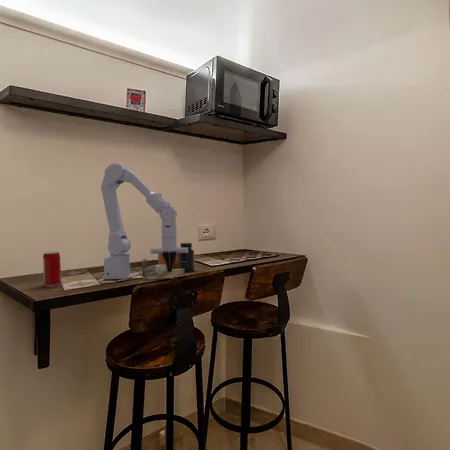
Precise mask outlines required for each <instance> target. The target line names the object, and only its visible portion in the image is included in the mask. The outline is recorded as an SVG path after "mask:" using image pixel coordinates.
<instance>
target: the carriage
mask: <svg viewBox="0 0 450 450" xmlns="http://www.w3.org/2000/svg"><path fill="white" fill-rule="evenodd" d="M154 270H155V272H166V264H165V265H158V264H155V266H154Z"/></svg>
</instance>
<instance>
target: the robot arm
mask: <svg viewBox="0 0 450 450" xmlns="http://www.w3.org/2000/svg"><path fill="white" fill-rule="evenodd" d="M125 182H126V183H129V184H131V185H132V186H133V187H134V188H135V189H136V190H137V191H139V192H140V193H141V194H142V195H143V196H144V198H145V202H146V203H147V205H148V206H149V207H150V208H152V209H153V210H154V211H155V212H156V213H157V214H159V217H160V219H161V247H160V248H158V247H157V248H150V250H149V253H150V255H158V254H163V258H164V260H165V262H166V265H167V268H168V272H172V265H173V262H174V259H175V257H176V253H188V248H181V247H177V246H178V243H177V242H178V241H177V240H178V239H177V238H178V236H177V221H176V219H177V215H178V212H177V210H176V208H175V207H174V206H172V205H171V202H170V201H169V202H168V201H167V200H166V199H165V198H164V197H163V194H162V193H160V192H159V193H158V191H152V190H151V189H150V188H149V187H148V186H147V184H145V183H144V182H143V180H141V178H139V177H138V175H137V174H135V173H134V172H133V171H131V170H130V169H129V168H128V167H127V166H125V165H121V164H120V163H117V162H112V163H111V164H109V165H108V166H107V167H106V168H105V169H104V176H103V178H102V182H101V185H100V190H101V194H102V199H103V203H104V209H105V213H106V219H107V224H108V229H109V233H108V236H107V237H108V243H107V249H108V251H109V253H110V254H109V255H107V254H106V255H105V256H104V259H103V269H104V270H103V271H104V272H103V273H104V274H103V275H104V277H103V279H104V280H117V279H118V280H119V279H120V280H121V279H123V280H124V279H130V278H131V277H132V275H133V273H131V265H130V264H131V263H130V261H131V260H130V252H129V250H130V249H131V246H132V243H131V240H130V239H129V238H128V236H127V235H128V234H127V232H126V231H125V229H124V225H123V219H122V216H121V215H122V214H121V209H120V206H119V205H120V204H119V201H118V195H117V189H118V188H119V187H120V185H122V184H123V183H125ZM165 251H174V252H165ZM169 253H170V264H169Z"/></svg>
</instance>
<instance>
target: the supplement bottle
mask: <svg viewBox="0 0 450 450" xmlns="http://www.w3.org/2000/svg"><path fill="white" fill-rule="evenodd" d="M179 248H188V253H178V268H177V269H184V271H185V273H191V272H194V271H195V251H194V249H193V245H192V242H180V247H179Z"/></svg>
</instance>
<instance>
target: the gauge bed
mask: <svg viewBox="0 0 450 450" xmlns="http://www.w3.org/2000/svg"><path fill="white" fill-rule="evenodd" d="M147 261H148V259H147V258H143V259H142V260H141V280H165V279H164V278H168V277H176V276H180V275H184V274H185V273H186V272H185V271H184V269H178V268H175V269H172V272H168V269H166V272H155V269H148V267H147V266H148V265H147V264H148V263H147Z"/></svg>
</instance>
